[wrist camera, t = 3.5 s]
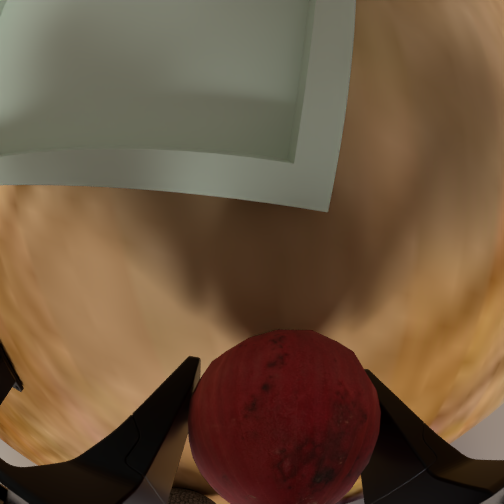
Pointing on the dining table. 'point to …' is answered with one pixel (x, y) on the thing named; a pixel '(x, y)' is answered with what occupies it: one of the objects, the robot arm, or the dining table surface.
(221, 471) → the onion
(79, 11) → the tray
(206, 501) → the decorative ball
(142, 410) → the robot arm
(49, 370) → the dining table surface
